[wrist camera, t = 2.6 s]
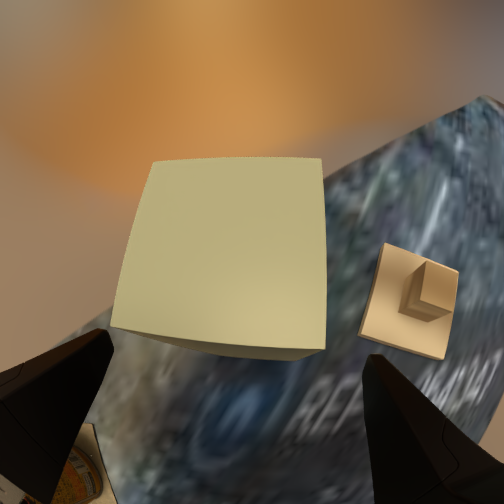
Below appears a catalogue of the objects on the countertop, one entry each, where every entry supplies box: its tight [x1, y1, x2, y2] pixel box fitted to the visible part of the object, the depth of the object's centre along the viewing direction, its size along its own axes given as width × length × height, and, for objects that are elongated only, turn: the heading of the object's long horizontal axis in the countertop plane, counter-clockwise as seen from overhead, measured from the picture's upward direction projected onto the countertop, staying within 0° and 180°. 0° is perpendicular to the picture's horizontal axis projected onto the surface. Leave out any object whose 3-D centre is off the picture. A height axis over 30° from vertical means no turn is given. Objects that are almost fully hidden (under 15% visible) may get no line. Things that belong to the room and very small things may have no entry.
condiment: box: [24, 423, 117, 504], centre depth 9 cm, size 7×8×12 cm
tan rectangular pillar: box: [110, 157, 327, 361], centre depth 13 cm, size 5×5×13 cm
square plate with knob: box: [357, 243, 458, 360], centre depth 16 cm, size 7×7×4 cm
